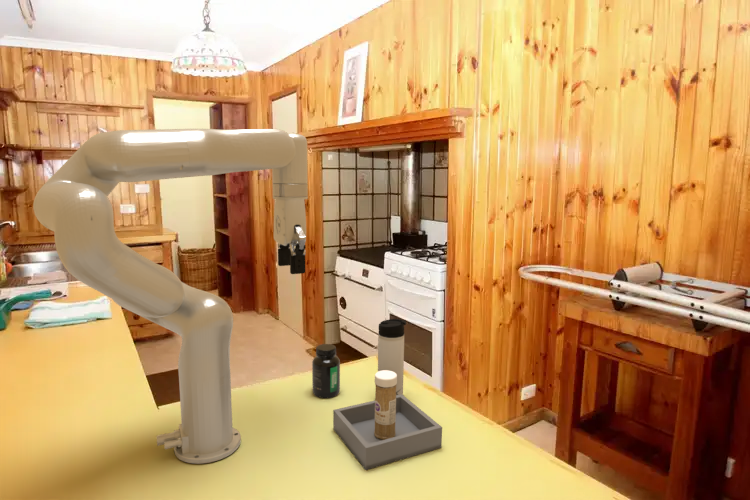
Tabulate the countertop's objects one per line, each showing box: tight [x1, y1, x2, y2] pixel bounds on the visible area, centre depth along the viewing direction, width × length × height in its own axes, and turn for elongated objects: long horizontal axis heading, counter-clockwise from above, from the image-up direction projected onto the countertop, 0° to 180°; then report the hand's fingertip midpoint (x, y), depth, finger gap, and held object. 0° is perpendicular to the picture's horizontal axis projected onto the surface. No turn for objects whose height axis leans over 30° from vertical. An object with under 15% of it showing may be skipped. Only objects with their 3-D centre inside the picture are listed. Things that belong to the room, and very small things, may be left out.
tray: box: [332, 394, 443, 471], centre depth 100 cm, size 17×16×4 cm
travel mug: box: [377, 318, 407, 396], centre depth 116 cm, size 6×7×20 cm
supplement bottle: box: [311, 343, 341, 399], centre depth 120 cm, size 7×7×12 cm
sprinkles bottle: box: [374, 370, 397, 440], centre depth 99 cm, size 5×5×14 cm
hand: (291, 269), depth 107 cm, fingers open, 9 cm apart
